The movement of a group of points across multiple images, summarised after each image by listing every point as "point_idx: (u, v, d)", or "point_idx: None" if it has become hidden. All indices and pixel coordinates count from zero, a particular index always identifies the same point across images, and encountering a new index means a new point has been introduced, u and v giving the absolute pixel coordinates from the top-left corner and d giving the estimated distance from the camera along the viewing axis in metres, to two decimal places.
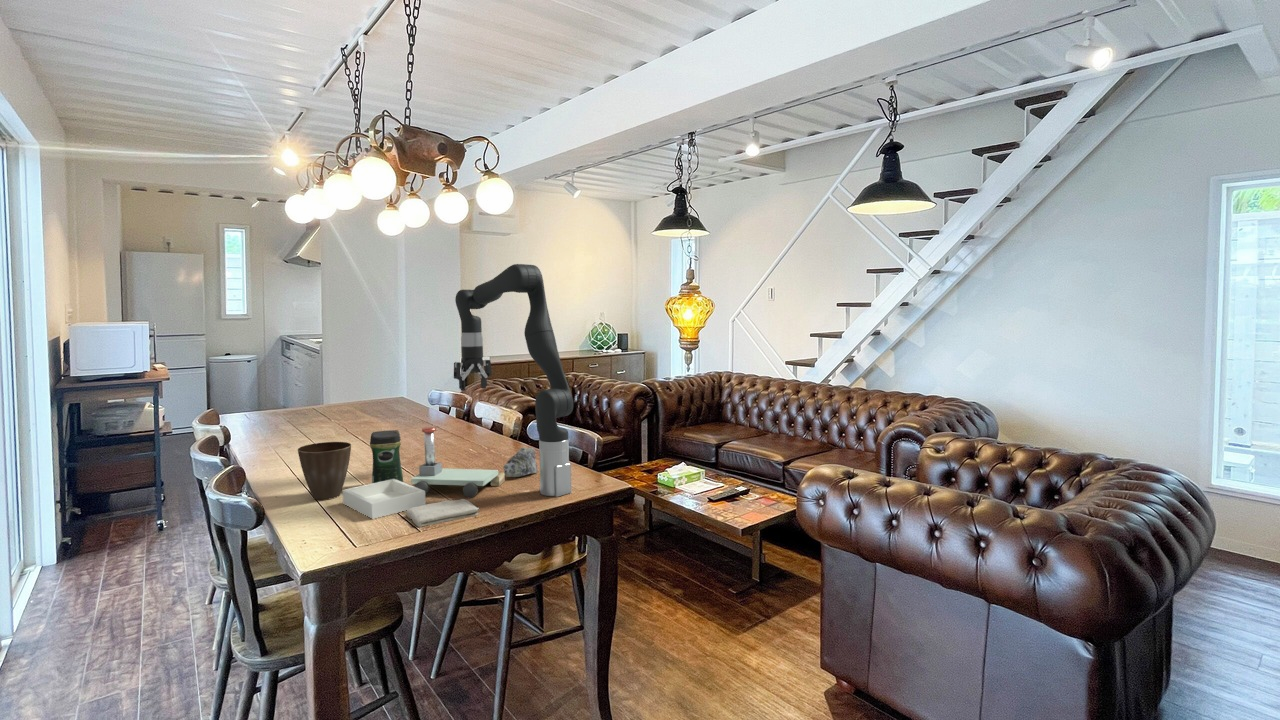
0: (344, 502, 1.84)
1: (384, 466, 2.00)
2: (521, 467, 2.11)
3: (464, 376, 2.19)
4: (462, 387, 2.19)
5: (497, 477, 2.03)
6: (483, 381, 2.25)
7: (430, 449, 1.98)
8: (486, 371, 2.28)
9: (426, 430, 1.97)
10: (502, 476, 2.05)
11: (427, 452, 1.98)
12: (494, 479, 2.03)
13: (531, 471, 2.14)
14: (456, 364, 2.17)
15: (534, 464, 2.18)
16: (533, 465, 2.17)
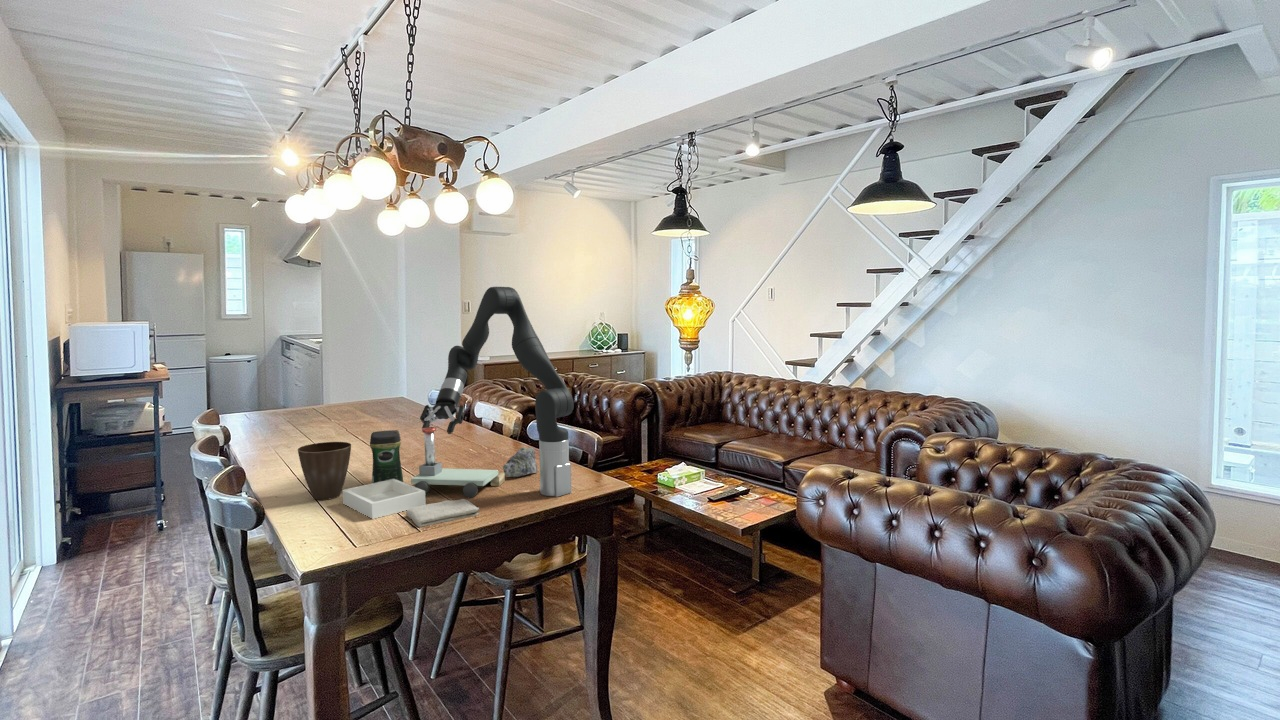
0: (344, 502, 1.84)
1: (384, 466, 2.00)
2: (520, 467, 2.11)
3: (428, 417, 2.07)
4: (423, 427, 2.05)
5: (497, 477, 2.03)
6: None
7: (430, 449, 1.98)
8: None
9: (426, 430, 1.97)
10: (502, 476, 2.05)
11: (427, 452, 1.98)
12: (494, 479, 2.03)
13: (531, 471, 2.14)
14: None
15: (534, 464, 2.18)
16: (533, 465, 2.17)
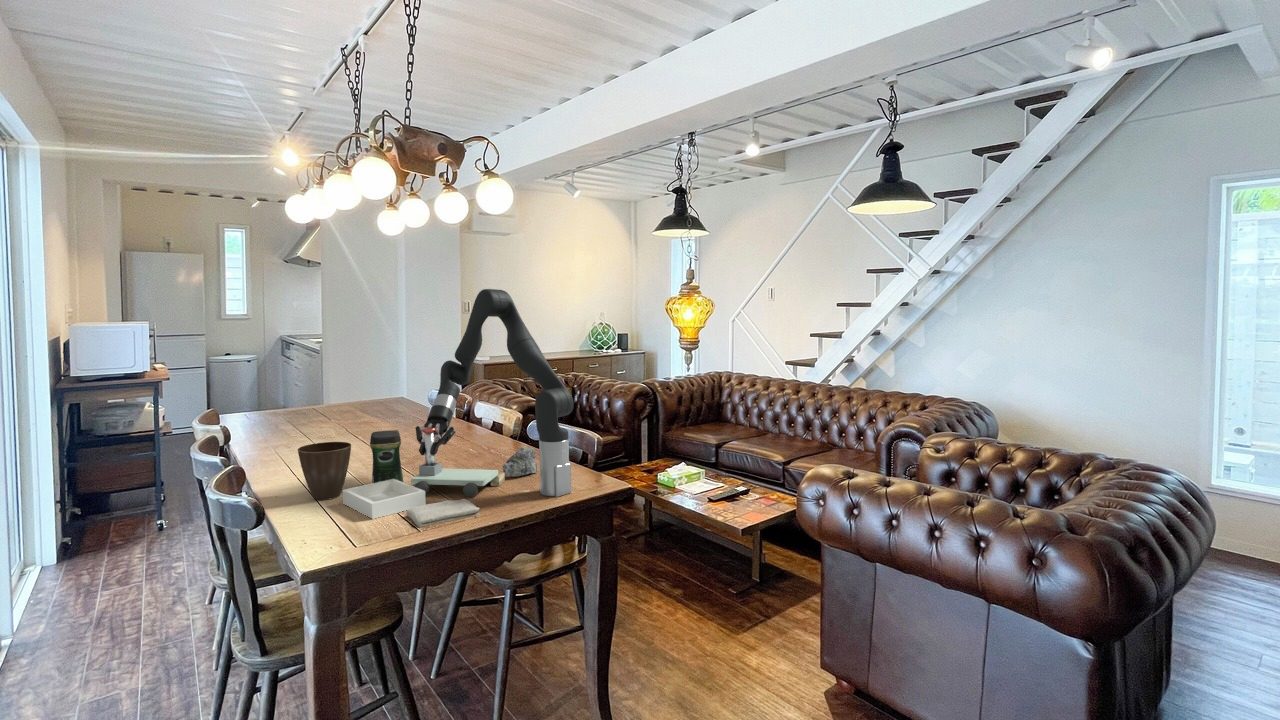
0: (344, 502, 1.84)
1: (384, 466, 2.00)
2: (520, 467, 2.12)
3: None
4: (420, 449, 1.98)
5: (497, 477, 2.03)
6: None
7: (430, 449, 1.98)
8: (445, 440, 2.01)
9: (426, 430, 1.97)
10: (502, 476, 2.05)
11: (427, 452, 1.98)
12: (494, 479, 2.03)
13: (530, 471, 2.14)
14: None
15: (534, 464, 2.18)
16: (532, 465, 2.17)
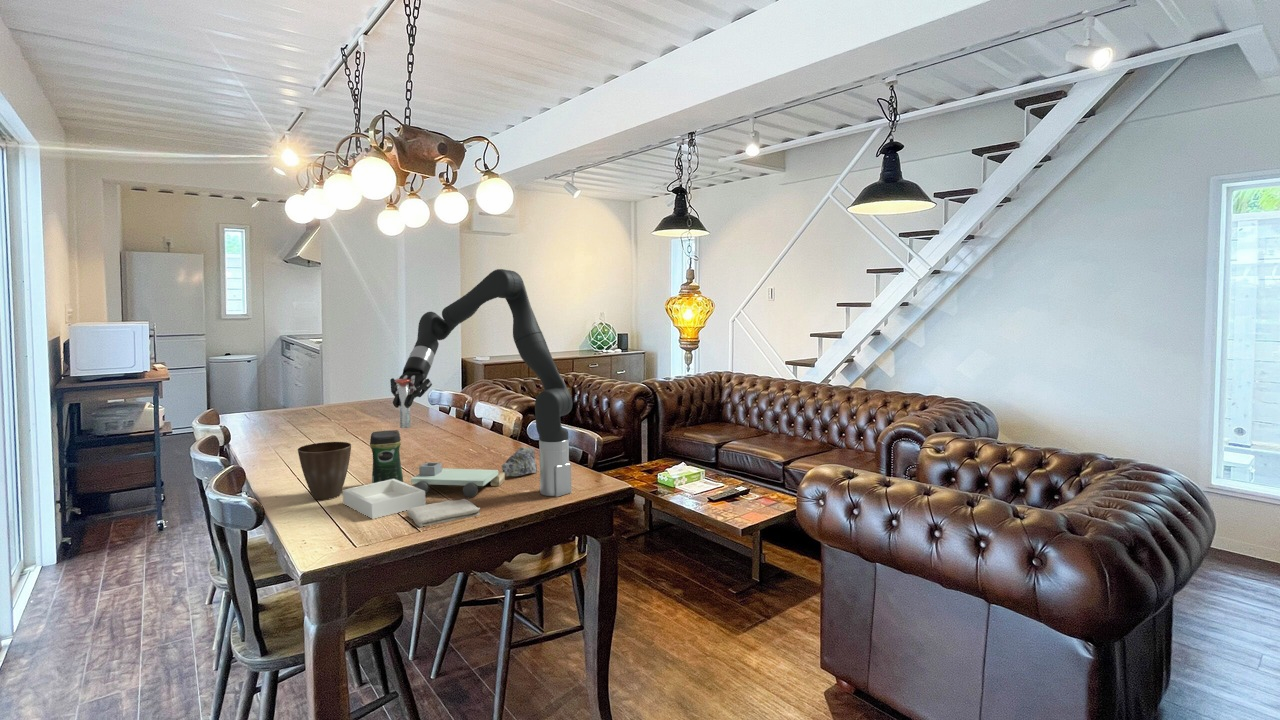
0: (344, 502, 1.84)
1: (384, 466, 2.00)
2: (519, 467, 2.12)
3: (398, 390, 1.91)
4: (394, 401, 1.89)
5: (497, 477, 2.03)
6: None
7: (404, 401, 1.89)
8: (421, 392, 1.92)
9: (400, 381, 1.87)
10: (502, 476, 2.05)
11: (401, 404, 1.89)
12: (494, 479, 2.03)
13: (530, 471, 2.15)
14: None
15: (533, 464, 2.18)
16: (532, 465, 2.17)
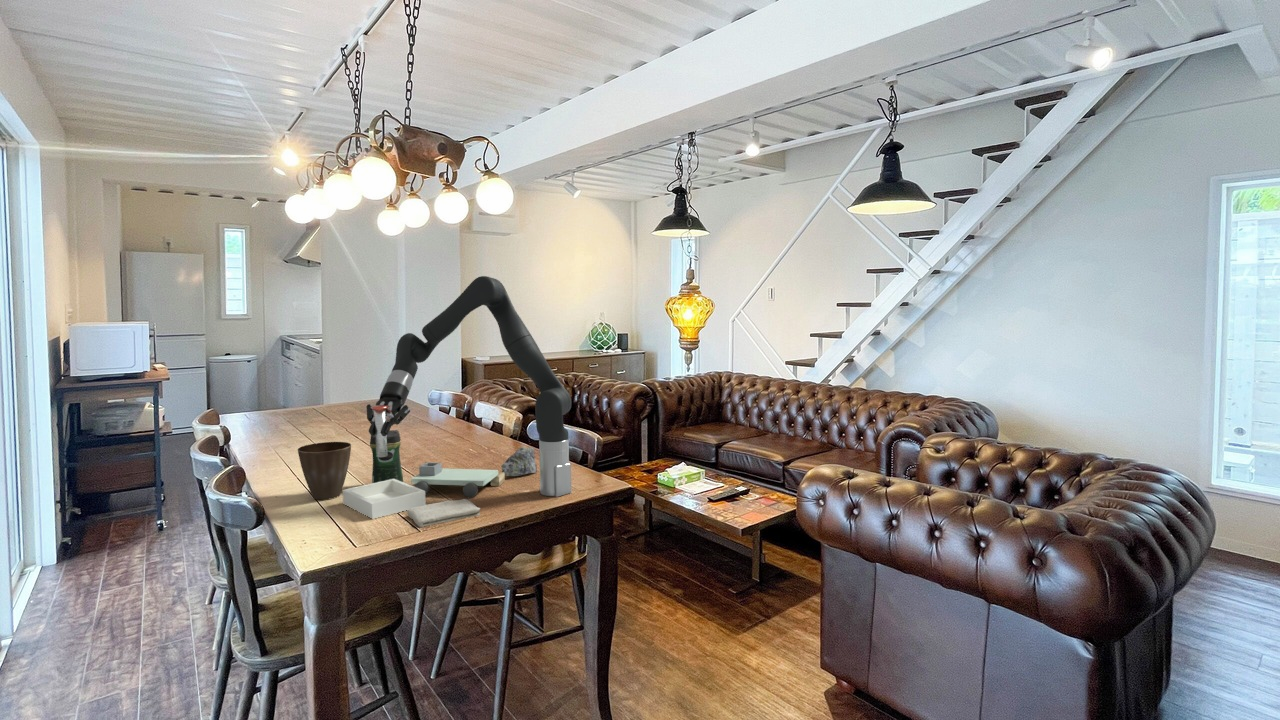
0: (344, 502, 1.84)
1: (384, 466, 2.00)
2: (519, 467, 2.12)
3: None
4: (370, 429, 1.81)
5: (497, 477, 2.03)
6: None
7: (381, 429, 1.81)
8: (398, 419, 1.84)
9: (376, 408, 1.79)
10: (502, 476, 2.05)
11: (377, 432, 1.81)
12: (494, 479, 2.03)
13: (529, 471, 2.15)
14: None
15: (533, 464, 2.18)
16: (532, 465, 2.17)
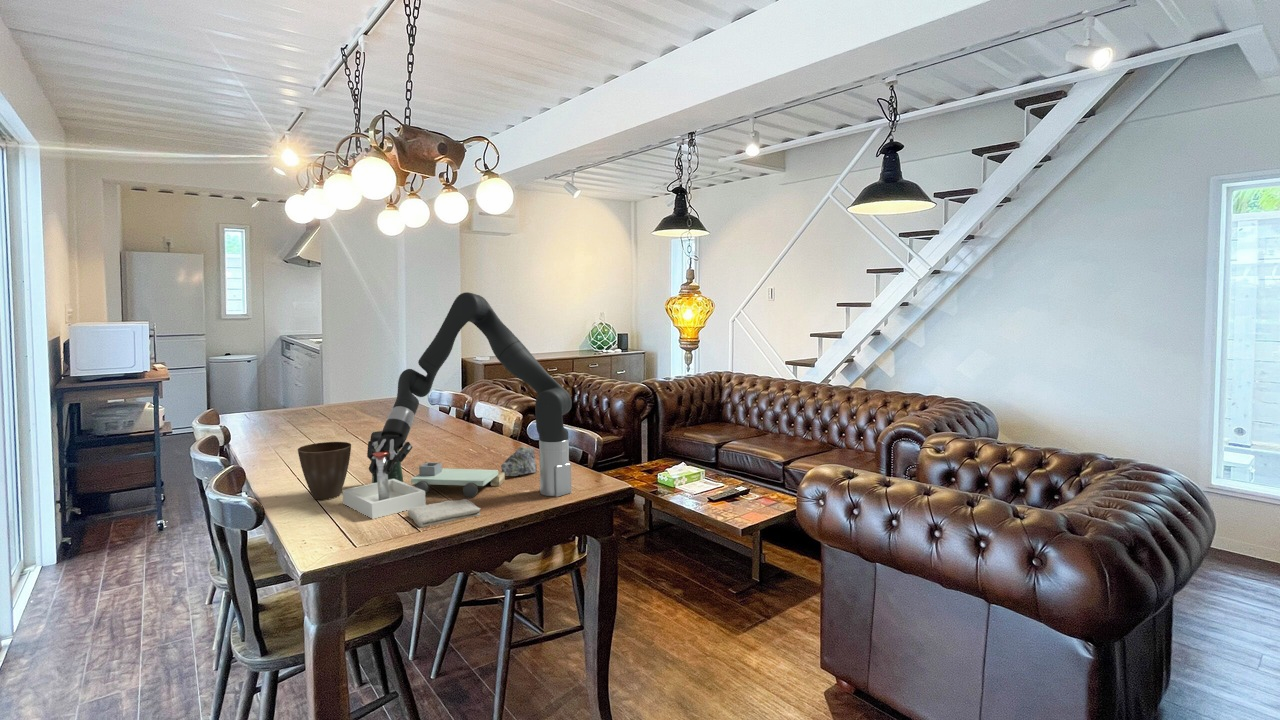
0: (344, 502, 1.84)
1: None
2: (518, 467, 2.12)
3: None
4: (370, 467, 1.82)
5: (497, 477, 2.03)
6: None
7: (382, 475, 1.82)
8: (401, 456, 1.85)
9: (377, 454, 1.81)
10: (502, 476, 2.05)
11: (379, 478, 1.82)
12: (494, 479, 2.03)
13: (529, 471, 2.15)
14: None
15: (533, 464, 2.18)
16: (532, 465, 2.17)
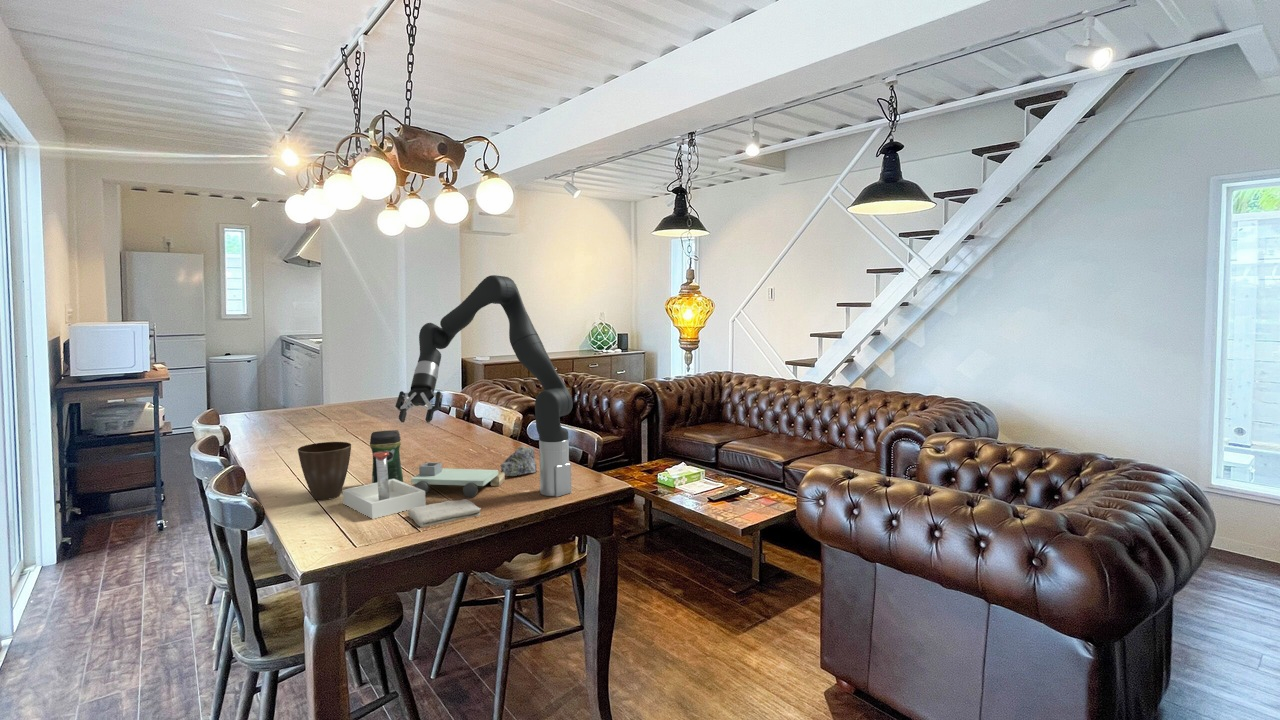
0: (344, 502, 1.84)
1: None
2: (518, 467, 2.12)
3: (404, 405, 1.98)
4: (399, 416, 1.97)
5: (497, 477, 2.03)
6: None
7: (382, 475, 1.82)
8: None
9: (377, 455, 1.80)
10: (502, 476, 2.05)
11: (379, 478, 1.82)
12: (494, 479, 2.03)
13: (528, 471, 2.15)
14: None
15: (533, 464, 2.18)
16: (531, 465, 2.17)
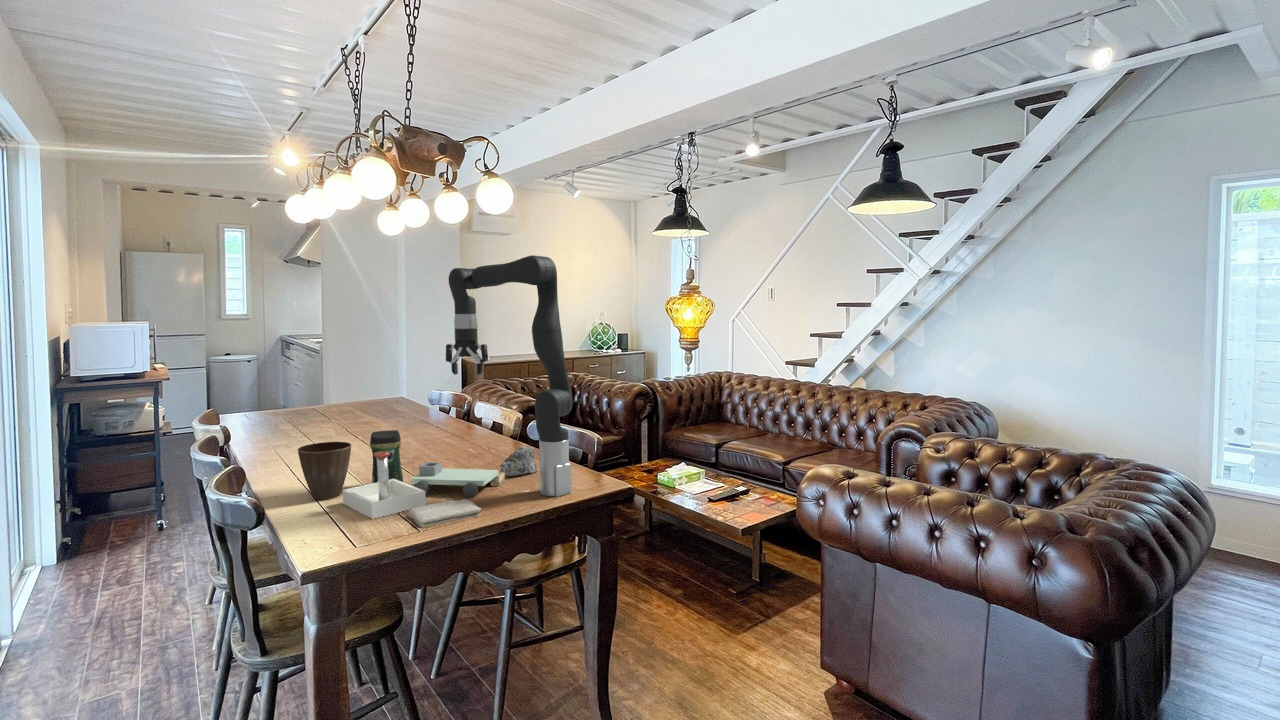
0: (344, 502, 1.84)
1: None
2: (517, 466, 2.13)
3: (453, 359, 2.09)
4: (452, 370, 2.10)
5: (497, 477, 2.03)
6: None
7: (383, 475, 1.82)
8: None
9: (378, 455, 1.81)
10: (502, 476, 2.05)
11: (379, 478, 1.82)
12: (494, 479, 2.03)
13: (528, 470, 2.15)
14: None
15: (533, 464, 2.18)
16: (531, 464, 2.17)
